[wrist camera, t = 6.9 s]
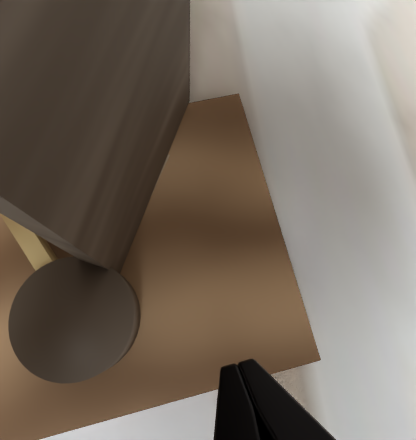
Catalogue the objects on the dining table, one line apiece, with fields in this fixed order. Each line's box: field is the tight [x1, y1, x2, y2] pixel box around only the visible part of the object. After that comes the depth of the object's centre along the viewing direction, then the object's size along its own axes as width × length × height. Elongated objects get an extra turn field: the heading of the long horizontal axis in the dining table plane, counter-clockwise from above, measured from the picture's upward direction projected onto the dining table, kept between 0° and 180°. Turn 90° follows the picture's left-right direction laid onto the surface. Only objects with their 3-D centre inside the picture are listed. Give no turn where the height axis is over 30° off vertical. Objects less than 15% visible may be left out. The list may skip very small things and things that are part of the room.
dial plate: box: [0, 94, 321, 440], centre depth 17 cm, size 13×14×2 cm
